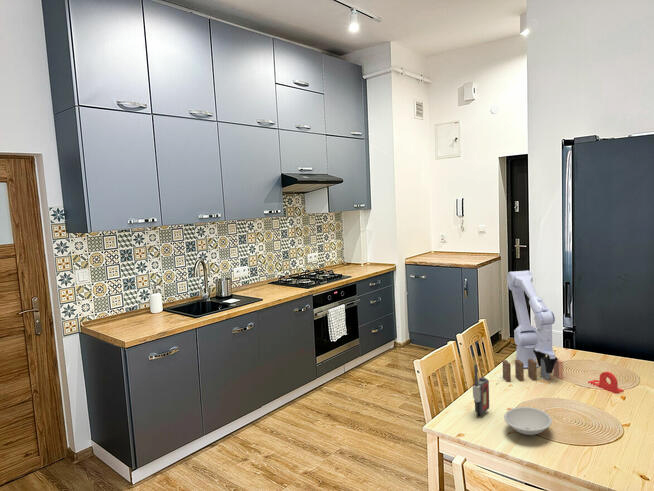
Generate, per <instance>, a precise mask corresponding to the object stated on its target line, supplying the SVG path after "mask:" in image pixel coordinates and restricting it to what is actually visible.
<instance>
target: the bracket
mask: <svg viewBox="0 0 654 491" xmlns="http://www.w3.org/2000/svg"><path fill="white" fill-rule="evenodd" d="M607 378H608V379H609V381H610V383H609V382H608V381H607ZM595 382H599V383H595ZM587 383H588V384H589V383H591V384H590V385H592V384H593V385H592V386H595V385H596V386H595V387H597V386H598V387H597V388H600V389H602V388H603V389H602V390H605V391H608V392H610V393H613V394H615V395H616V394H619V393H623V392H625V391H624V389H622V388H620V387H618V386H619V384H618V379H617V376H615V375H614V373H612V372H610V371H603V372H601V373H600V374H599V380H597V379H593V380H589V381H588V382H587Z"/></svg>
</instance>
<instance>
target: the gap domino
mask: <svg viewBox="0 0 654 491" xmlns="http://www.w3.org/2000/svg"><path fill="white" fill-rule="evenodd" d="M540 376H541V377H542V378H543V379H544V380H545V381H550V380H551V373H547V372H546V368H545V363H544V360H543V358H542V359H541V367H540Z"/></svg>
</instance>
